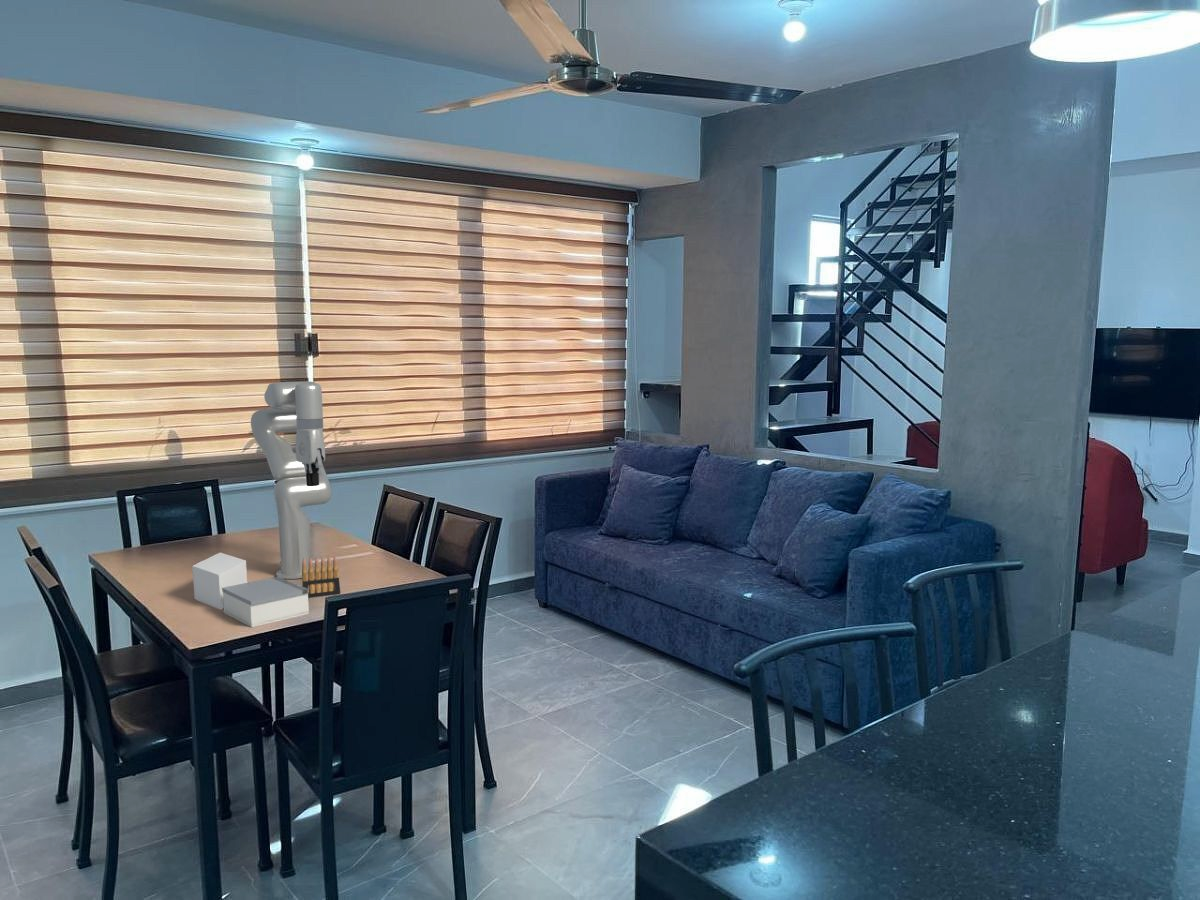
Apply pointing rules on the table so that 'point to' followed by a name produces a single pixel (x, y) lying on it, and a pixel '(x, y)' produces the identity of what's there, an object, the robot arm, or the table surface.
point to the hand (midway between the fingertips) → (312, 485)
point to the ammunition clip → (321, 577)
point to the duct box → (265, 609)
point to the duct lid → (264, 590)
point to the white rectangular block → (217, 578)
